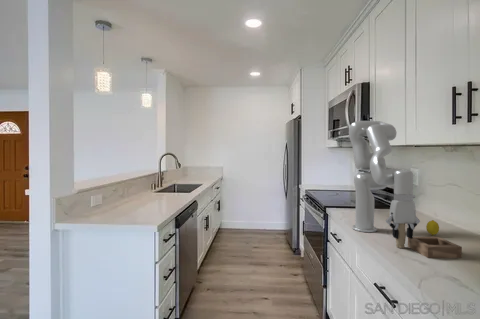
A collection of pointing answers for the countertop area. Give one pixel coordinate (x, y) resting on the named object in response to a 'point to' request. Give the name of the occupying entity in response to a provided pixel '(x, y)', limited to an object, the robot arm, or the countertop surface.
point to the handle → (401, 236)
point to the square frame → (435, 247)
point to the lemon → (432, 227)
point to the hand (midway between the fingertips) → (402, 237)
